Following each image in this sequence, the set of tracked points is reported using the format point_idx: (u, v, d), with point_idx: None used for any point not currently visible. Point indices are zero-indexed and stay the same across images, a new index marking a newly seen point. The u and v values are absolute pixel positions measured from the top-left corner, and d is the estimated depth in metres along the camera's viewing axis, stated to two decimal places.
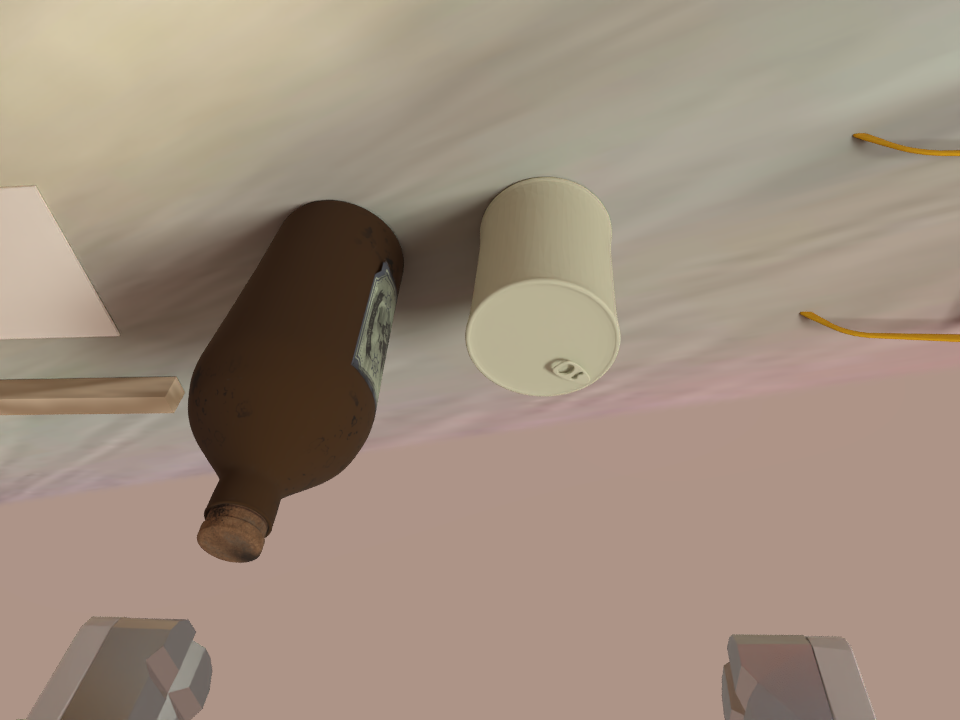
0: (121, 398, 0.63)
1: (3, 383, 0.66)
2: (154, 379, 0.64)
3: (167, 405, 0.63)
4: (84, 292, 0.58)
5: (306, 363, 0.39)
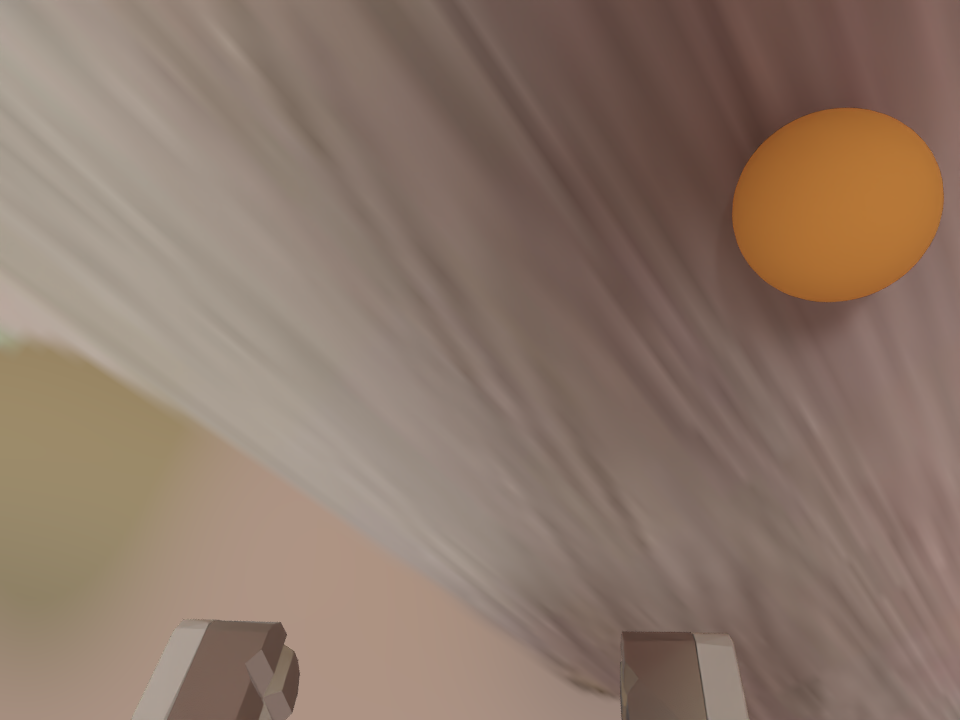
0: None
1: None
2: None
3: None
4: None
5: None
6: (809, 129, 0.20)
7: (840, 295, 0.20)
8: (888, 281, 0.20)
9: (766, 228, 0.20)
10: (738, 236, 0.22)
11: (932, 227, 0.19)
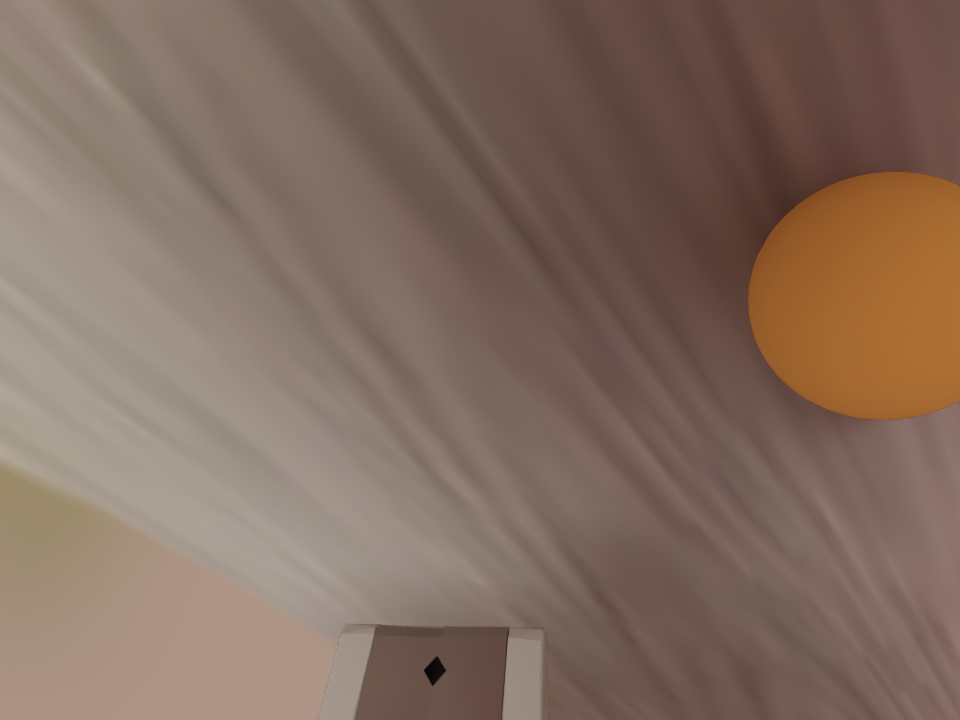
0: None
1: None
2: None
3: None
4: None
5: None
6: (856, 204, 0.15)
7: (891, 417, 0.16)
8: (955, 402, 0.15)
9: (797, 332, 0.15)
10: (757, 333, 0.17)
11: None
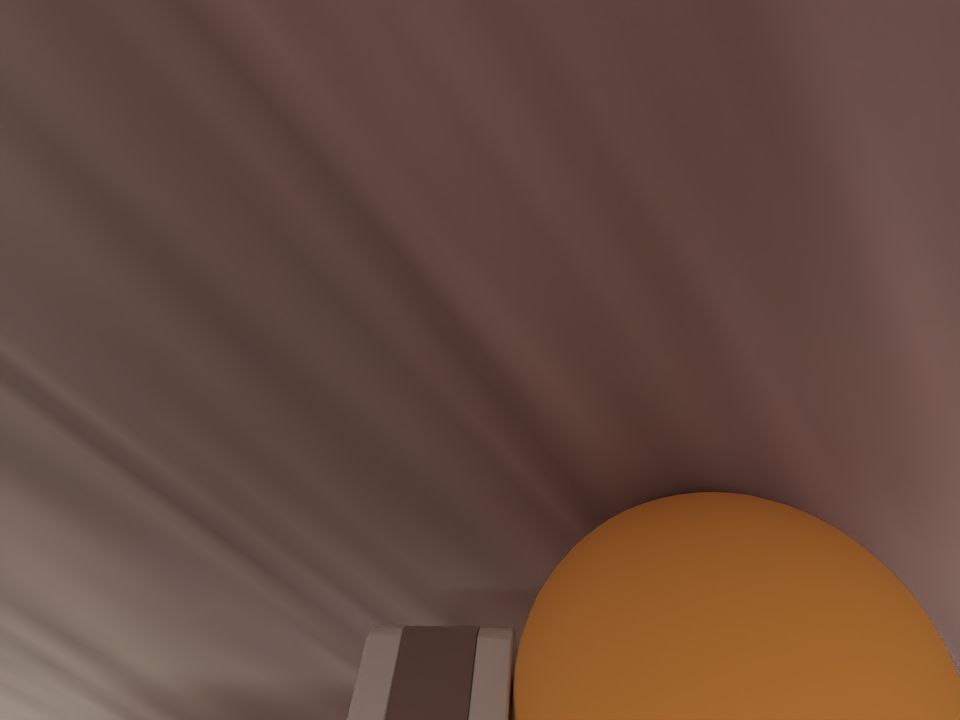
0: None
1: None
2: None
3: None
4: None
5: None
6: (636, 623, 0.08)
7: None
8: None
9: None
10: None
11: None
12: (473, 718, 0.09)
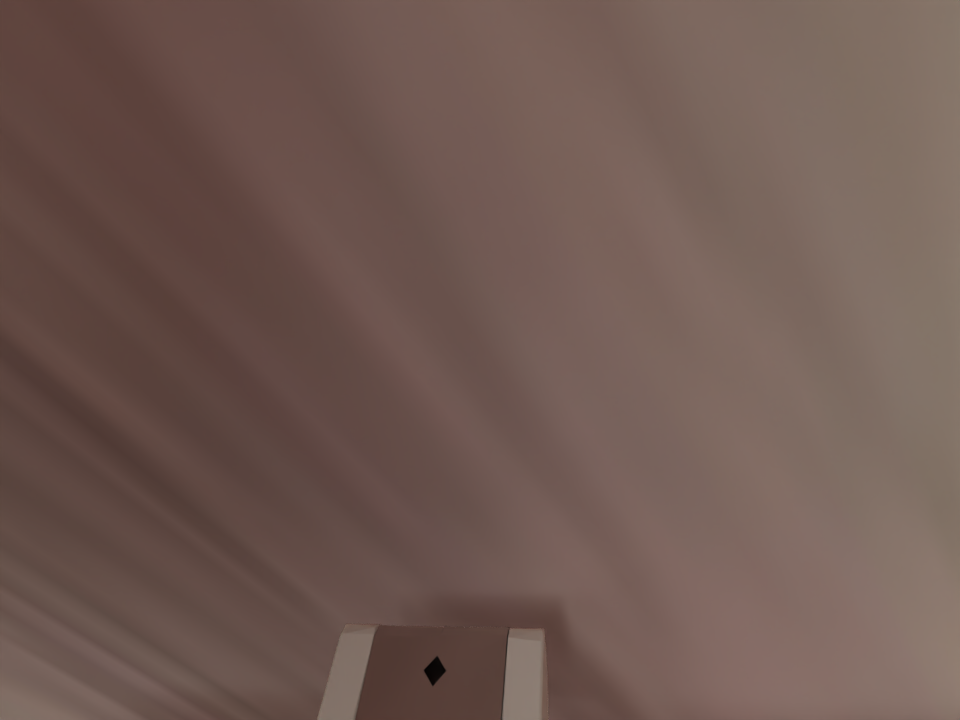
0: None
1: None
2: None
3: None
4: None
5: None
6: None
7: None
8: None
9: None
10: None
11: None
12: (506, 719, 0.09)
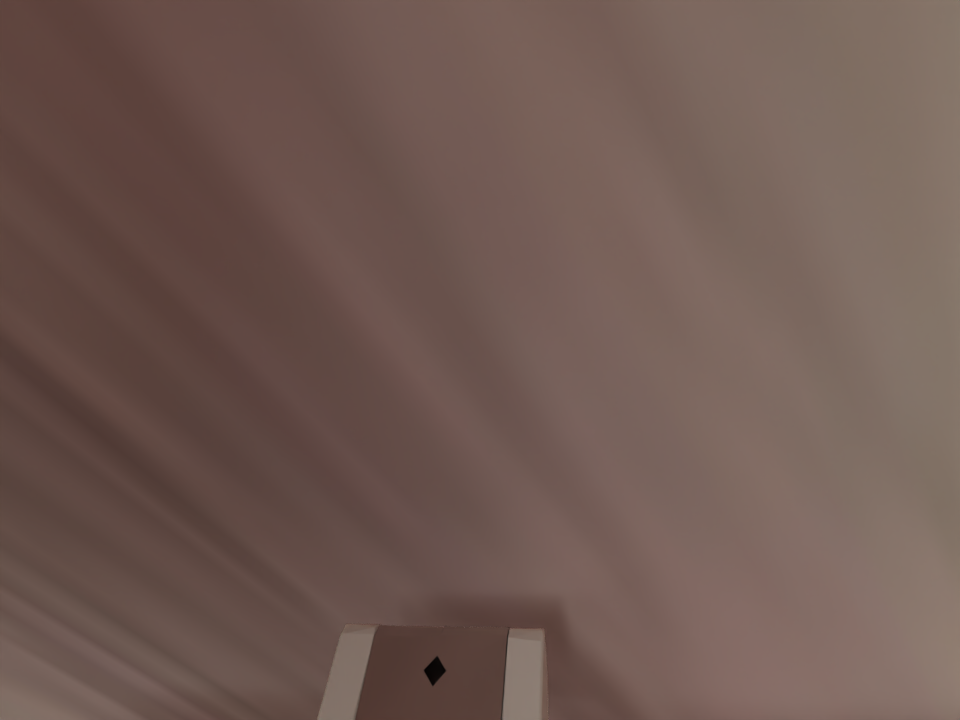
0: None
1: None
2: None
3: None
4: None
5: None
6: None
7: None
8: None
9: None
10: None
11: None
12: (506, 719, 0.09)
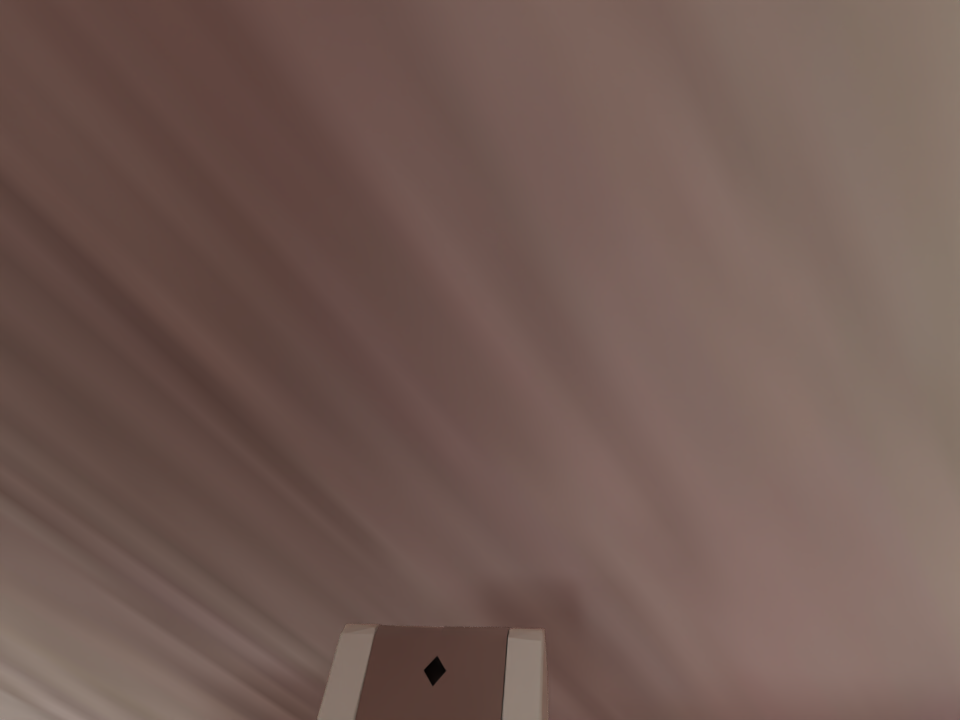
0: None
1: None
2: None
3: None
4: None
5: None
6: None
7: None
8: None
9: None
10: None
11: None
12: (507, 719, 0.09)
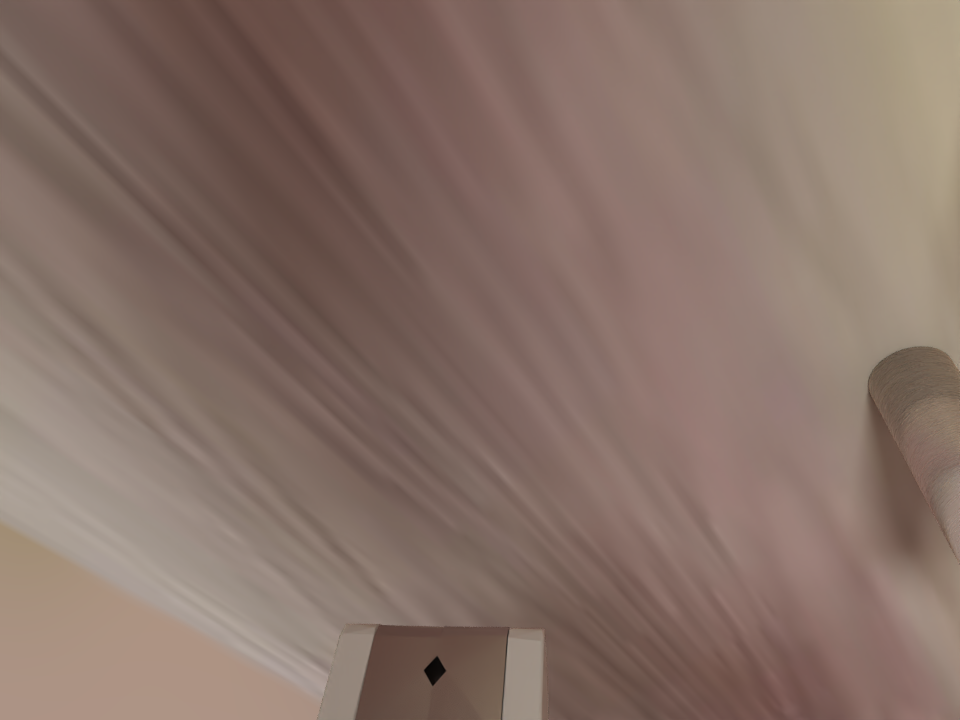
0: None
1: None
2: None
3: None
4: None
5: None
6: None
7: None
8: None
9: None
10: None
11: None
12: (507, 719, 0.09)
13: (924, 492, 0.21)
